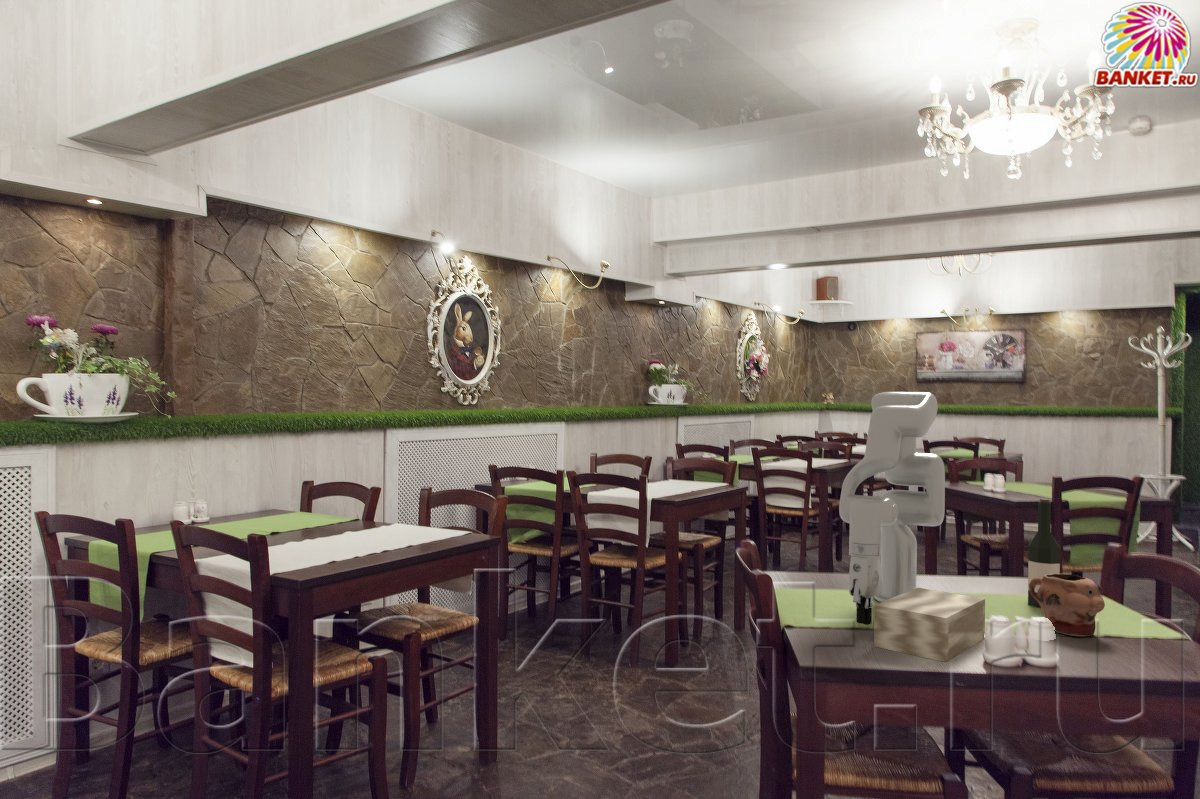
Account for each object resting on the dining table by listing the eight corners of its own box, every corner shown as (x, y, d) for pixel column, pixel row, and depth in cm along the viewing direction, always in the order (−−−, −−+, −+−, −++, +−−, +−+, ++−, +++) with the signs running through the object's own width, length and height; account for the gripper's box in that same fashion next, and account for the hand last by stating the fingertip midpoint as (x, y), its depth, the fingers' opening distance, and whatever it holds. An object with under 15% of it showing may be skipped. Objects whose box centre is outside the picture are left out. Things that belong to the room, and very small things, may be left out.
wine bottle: (1052, 602, 231) (1053, 498, 231) (1065, 609, 223) (1067, 501, 223) (1021, 601, 232) (1023, 497, 232) (1034, 608, 224) (1035, 500, 224)
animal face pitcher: (1011, 623, 207) (1012, 569, 207) (1041, 618, 212) (1041, 566, 213) (1089, 644, 189) (1090, 585, 189) (1119, 638, 195) (1120, 581, 195)
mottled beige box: (874, 646, 184) (874, 604, 184) (917, 625, 204) (918, 587, 204) (945, 662, 174) (946, 618, 174) (984, 638, 193) (985, 598, 193)
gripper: (867, 555, 192) (866, 632, 192) (891, 547, 203) (890, 620, 203) (837, 551, 197) (836, 626, 197) (862, 544, 208) (861, 615, 208)
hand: (863, 623), depth 200 cm, fingers closed
